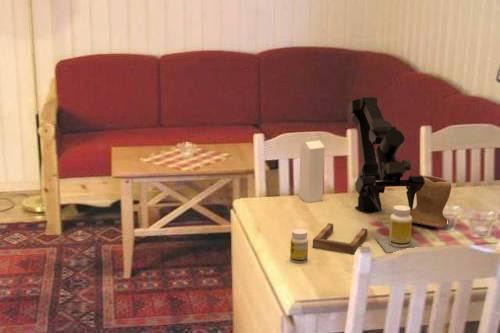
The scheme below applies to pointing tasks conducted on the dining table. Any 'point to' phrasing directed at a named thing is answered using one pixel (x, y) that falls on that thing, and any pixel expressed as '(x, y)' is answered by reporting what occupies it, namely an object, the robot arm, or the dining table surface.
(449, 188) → the brown boot
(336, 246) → the open wooden u-frame
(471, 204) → the dining table surface
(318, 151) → the milk
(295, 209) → the dining table surface
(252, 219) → the dining table surface
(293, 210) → the dining table surface
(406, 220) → the pill bottle
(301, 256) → the supplement bottle
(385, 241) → the coaster
